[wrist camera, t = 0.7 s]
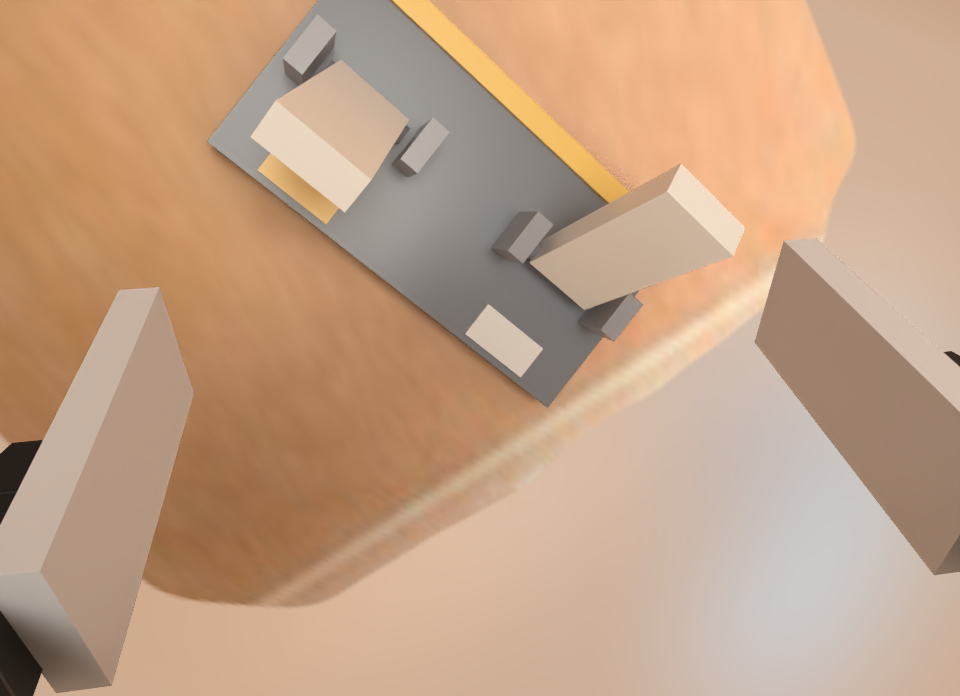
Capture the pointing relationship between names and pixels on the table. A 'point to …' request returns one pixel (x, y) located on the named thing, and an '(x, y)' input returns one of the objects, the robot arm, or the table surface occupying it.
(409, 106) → the switch unit
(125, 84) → the table surface
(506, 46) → the table surface
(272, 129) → the paddle
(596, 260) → the paddle
